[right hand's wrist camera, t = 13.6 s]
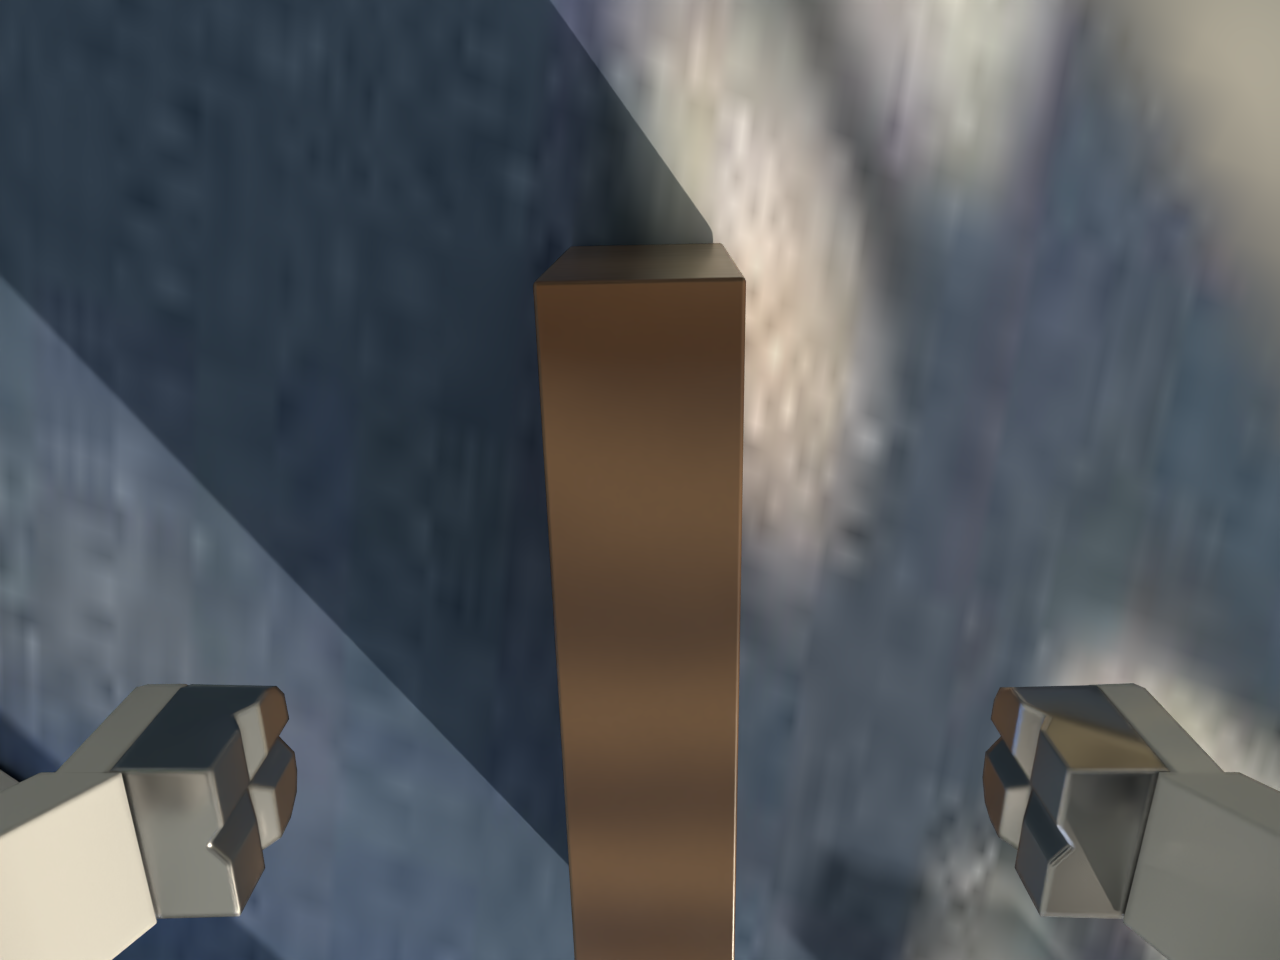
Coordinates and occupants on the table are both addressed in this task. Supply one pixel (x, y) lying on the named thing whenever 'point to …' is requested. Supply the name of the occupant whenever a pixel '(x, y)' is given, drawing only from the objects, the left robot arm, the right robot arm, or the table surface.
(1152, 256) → the table surface
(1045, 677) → the table surface
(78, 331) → the table surface
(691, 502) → the bar
